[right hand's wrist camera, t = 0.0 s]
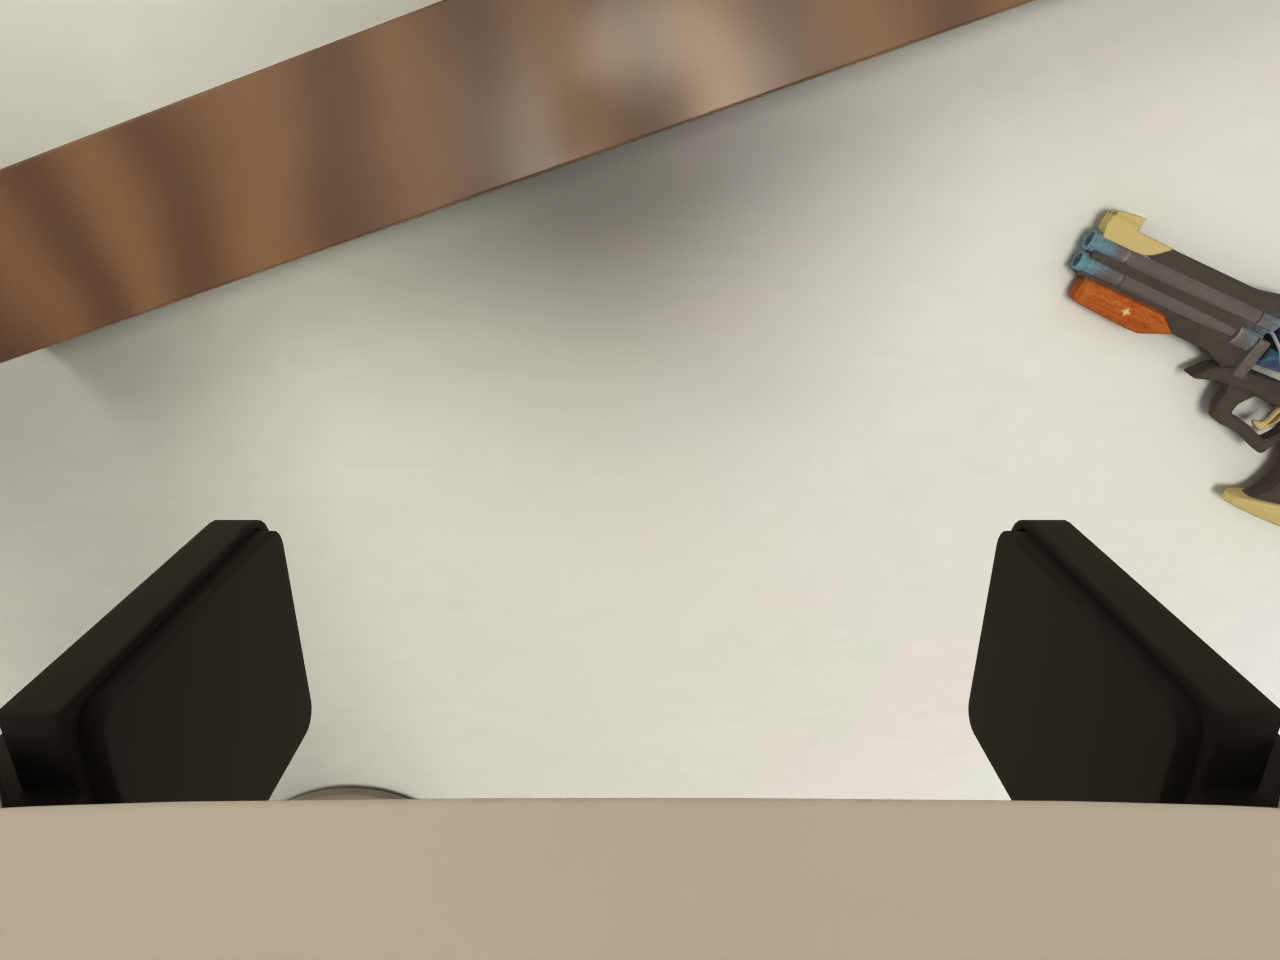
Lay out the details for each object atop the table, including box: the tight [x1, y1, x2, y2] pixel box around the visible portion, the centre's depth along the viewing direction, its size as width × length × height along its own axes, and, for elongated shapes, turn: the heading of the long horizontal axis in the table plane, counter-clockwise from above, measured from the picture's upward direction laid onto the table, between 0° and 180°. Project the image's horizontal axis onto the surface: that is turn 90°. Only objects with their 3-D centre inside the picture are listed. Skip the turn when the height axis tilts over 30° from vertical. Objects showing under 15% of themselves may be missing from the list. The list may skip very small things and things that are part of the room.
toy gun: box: [1069, 209, 1280, 526], centre depth 41 cm, size 3×19×10 cm
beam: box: [0, 0, 1035, 363], centre depth 33 cm, size 74×7×6 cm, turn 108°
